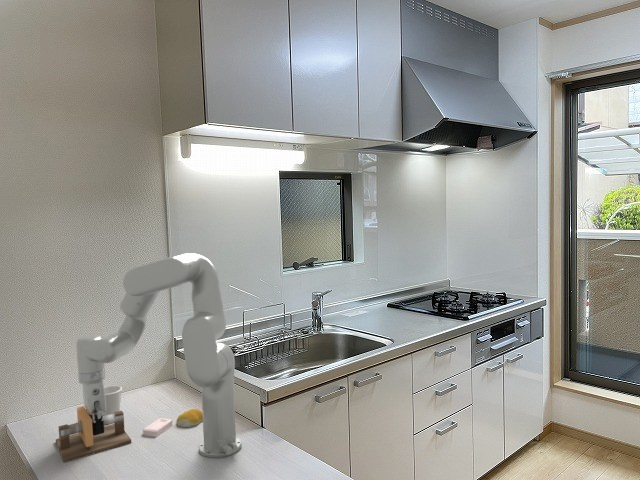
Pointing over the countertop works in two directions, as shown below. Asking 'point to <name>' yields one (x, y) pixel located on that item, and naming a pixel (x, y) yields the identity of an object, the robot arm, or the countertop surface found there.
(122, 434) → the pipe stand
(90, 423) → the collar
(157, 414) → the countertop surface
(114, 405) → the dixie cup
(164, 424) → the soap bar
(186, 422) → the bread roll
